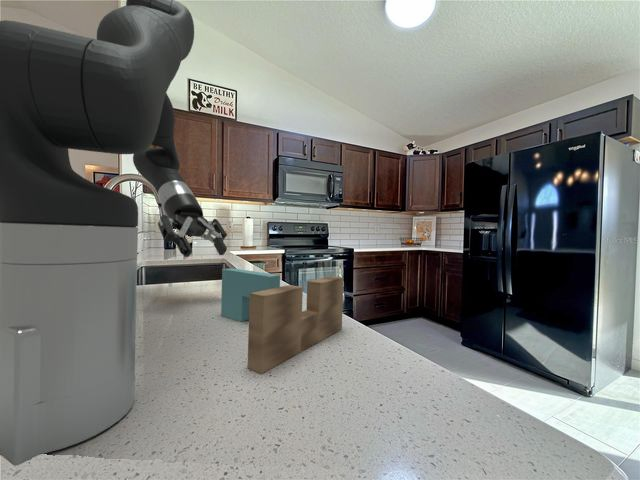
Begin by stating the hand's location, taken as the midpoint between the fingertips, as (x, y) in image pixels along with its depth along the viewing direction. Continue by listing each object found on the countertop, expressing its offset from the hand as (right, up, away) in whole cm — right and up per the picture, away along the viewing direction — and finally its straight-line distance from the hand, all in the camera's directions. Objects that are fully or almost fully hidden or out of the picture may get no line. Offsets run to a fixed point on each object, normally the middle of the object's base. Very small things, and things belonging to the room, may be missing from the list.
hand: (207, 253), depth 60 cm
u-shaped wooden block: (+22, -13, -18) cm, 32 cm away
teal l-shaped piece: (+11, -13, -7) cm, 18 cm away
